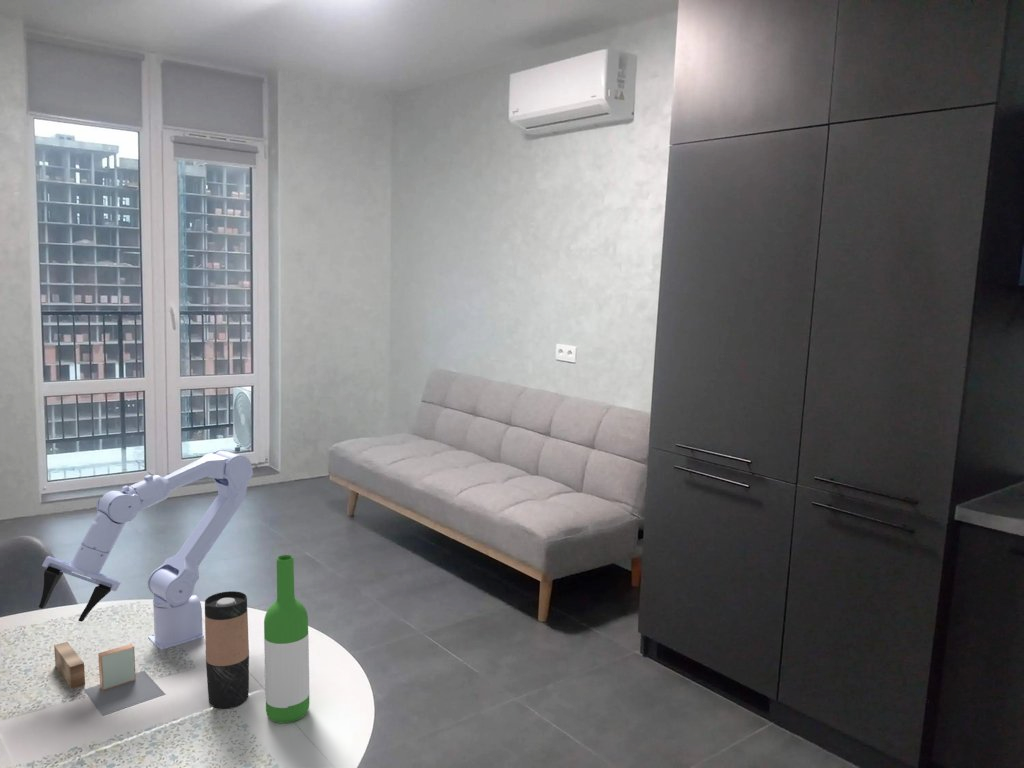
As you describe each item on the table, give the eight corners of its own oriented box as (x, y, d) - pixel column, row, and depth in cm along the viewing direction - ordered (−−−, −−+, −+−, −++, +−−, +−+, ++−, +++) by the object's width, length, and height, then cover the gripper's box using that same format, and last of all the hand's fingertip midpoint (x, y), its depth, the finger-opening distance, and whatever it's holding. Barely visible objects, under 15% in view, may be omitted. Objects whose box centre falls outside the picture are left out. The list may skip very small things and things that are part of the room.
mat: (144, 672, 153) (144, 670, 153) (165, 696, 145) (165, 694, 144) (84, 691, 146) (83, 689, 146) (102, 717, 137) (102, 715, 137)
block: (133, 677, 151) (131, 643, 150) (136, 680, 149) (134, 646, 148) (100, 687, 146) (98, 653, 146) (102, 691, 145) (101, 656, 144)
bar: (55, 668, 154) (54, 645, 154) (68, 664, 156) (67, 641, 156) (71, 691, 146) (70, 667, 145) (85, 687, 148) (84, 663, 147)
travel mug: (258, 693, 146) (256, 594, 144) (231, 713, 139) (228, 610, 137) (226, 685, 149) (223, 588, 146) (198, 705, 142) (194, 603, 139)
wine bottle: (315, 717, 138) (313, 560, 135) (272, 730, 134) (268, 568, 130) (302, 698, 145) (300, 547, 141) (261, 709, 141) (257, 554, 137)
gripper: (54, 535, 148) (17, 603, 144) (128, 562, 151) (94, 629, 147) (62, 535, 154) (27, 599, 151) (133, 560, 158) (101, 624, 154)
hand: (61, 614), depth 150 cm, fingers open, 7 cm apart
